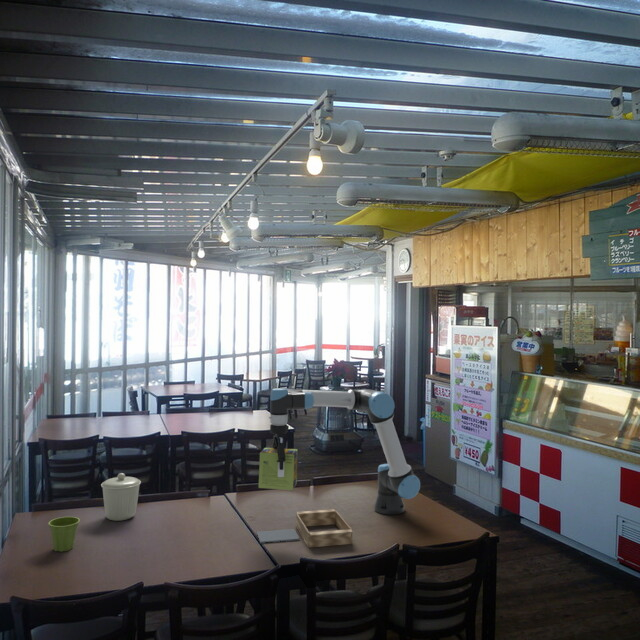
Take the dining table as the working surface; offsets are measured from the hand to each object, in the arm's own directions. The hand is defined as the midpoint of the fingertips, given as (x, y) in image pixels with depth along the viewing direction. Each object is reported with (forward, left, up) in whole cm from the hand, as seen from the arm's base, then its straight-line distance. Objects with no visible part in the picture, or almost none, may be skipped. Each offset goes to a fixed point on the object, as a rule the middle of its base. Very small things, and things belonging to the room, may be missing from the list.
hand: (278, 473), depth 252 cm
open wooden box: (-20, +2, -28) cm, 34 cm away
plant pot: (+88, -6, -28) cm, 93 cm away
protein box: (0, 0, -6) cm, 6 cm away
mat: (0, 0, -28) cm, 28 cm away
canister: (+69, -41, -28) cm, 85 cm away
